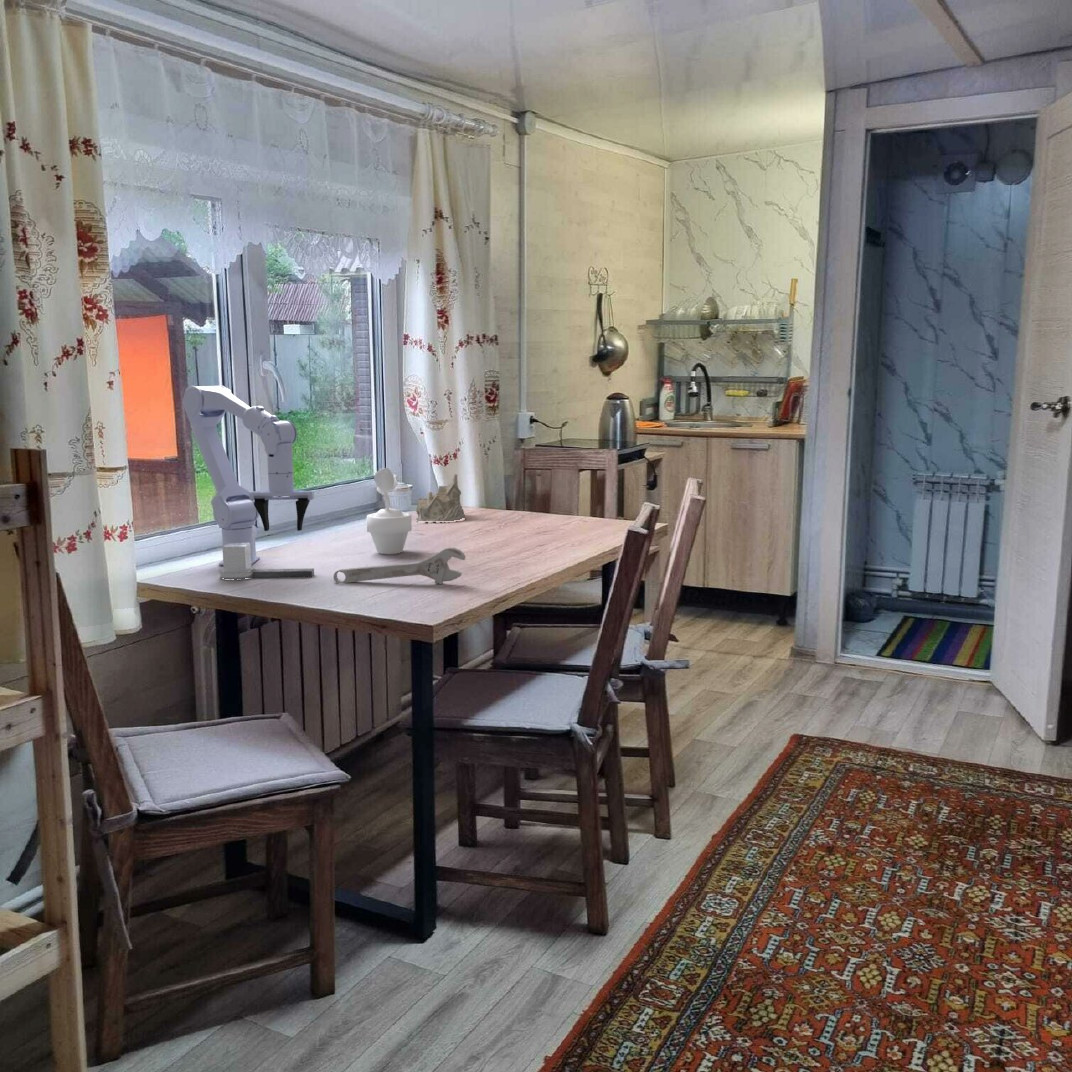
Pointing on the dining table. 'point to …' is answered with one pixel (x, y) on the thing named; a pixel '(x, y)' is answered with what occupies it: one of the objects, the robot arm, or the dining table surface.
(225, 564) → the brushed metal cube
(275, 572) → the ratchet
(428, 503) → the ceramic cottage
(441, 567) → the wrench
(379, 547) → the potted plant
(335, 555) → the dining table surface
